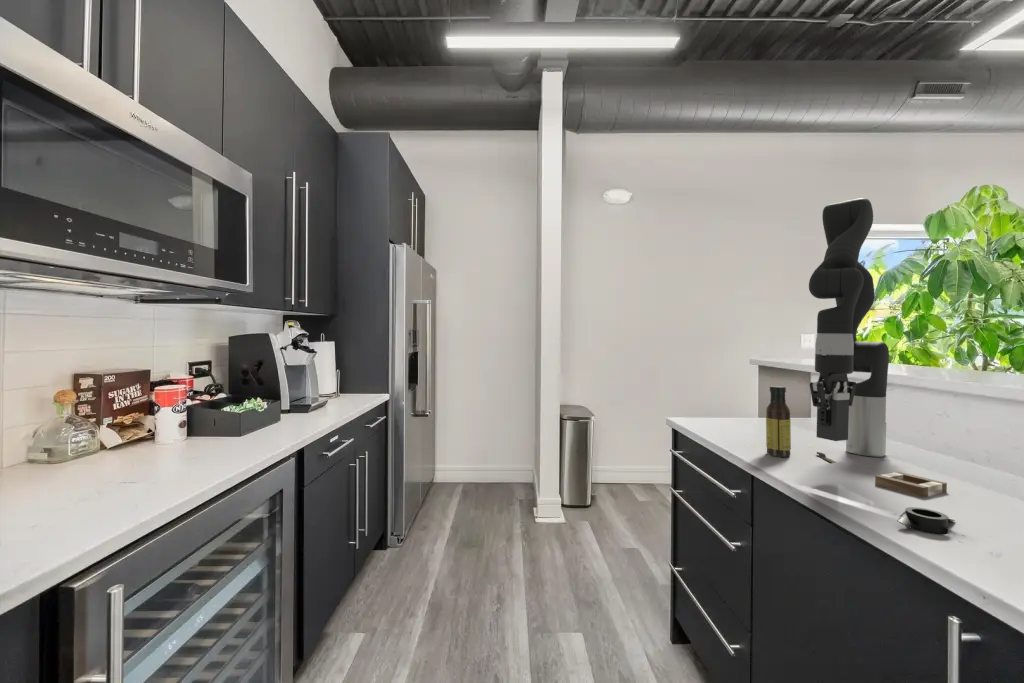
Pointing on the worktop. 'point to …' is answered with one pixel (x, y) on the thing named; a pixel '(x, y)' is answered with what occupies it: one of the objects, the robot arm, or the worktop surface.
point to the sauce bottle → (778, 424)
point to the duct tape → (925, 520)
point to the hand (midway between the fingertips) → (832, 424)
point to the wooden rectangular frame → (911, 484)
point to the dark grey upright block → (836, 419)
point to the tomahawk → (825, 458)
